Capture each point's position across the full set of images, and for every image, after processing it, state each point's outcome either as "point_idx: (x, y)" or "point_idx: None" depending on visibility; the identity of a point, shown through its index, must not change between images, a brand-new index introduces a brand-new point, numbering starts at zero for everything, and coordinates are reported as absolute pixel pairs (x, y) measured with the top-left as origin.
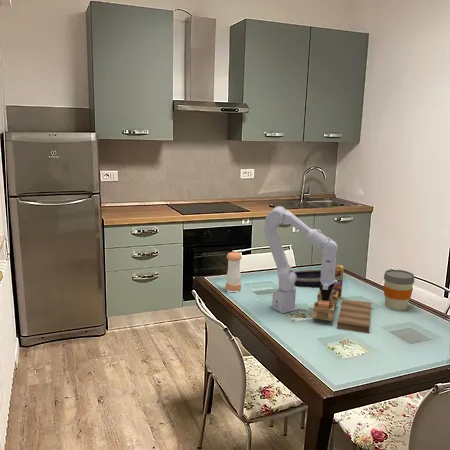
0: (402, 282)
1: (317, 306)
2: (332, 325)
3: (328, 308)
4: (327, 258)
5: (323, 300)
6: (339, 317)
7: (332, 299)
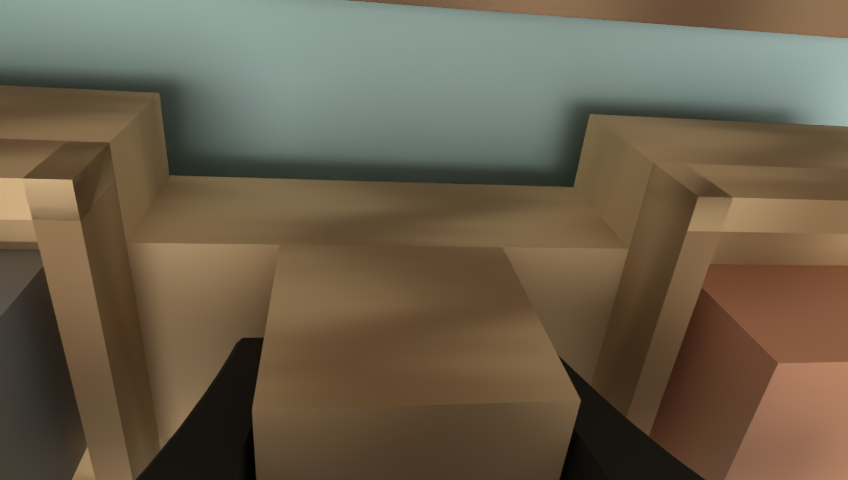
0: None
1: None
2: (794, 99)
3: (839, 290)
4: None
5: (725, 474)
6: (792, 13)
7: (122, 242)
